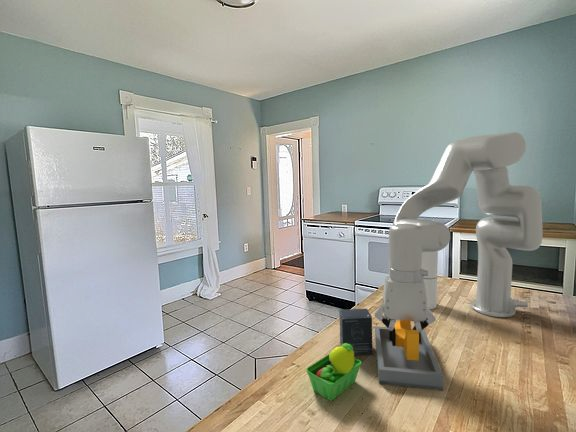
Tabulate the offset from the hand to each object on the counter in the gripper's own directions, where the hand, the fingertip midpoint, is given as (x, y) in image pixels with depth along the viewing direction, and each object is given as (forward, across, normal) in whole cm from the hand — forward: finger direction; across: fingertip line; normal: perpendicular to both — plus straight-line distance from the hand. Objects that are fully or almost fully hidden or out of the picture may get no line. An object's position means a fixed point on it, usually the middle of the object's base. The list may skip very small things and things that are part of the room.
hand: (404, 343), depth 78 cm
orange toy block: (+1, 0, 0) cm, 1 cm away
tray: (+5, 0, 0) cm, 5 cm away
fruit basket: (+5, +16, +13) cm, 21 cm away
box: (+5, +12, -3) cm, 13 cm away
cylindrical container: (+5, -12, -36) cm, 38 cm away
